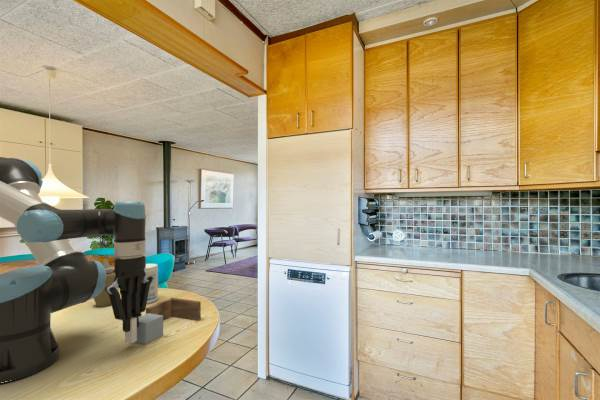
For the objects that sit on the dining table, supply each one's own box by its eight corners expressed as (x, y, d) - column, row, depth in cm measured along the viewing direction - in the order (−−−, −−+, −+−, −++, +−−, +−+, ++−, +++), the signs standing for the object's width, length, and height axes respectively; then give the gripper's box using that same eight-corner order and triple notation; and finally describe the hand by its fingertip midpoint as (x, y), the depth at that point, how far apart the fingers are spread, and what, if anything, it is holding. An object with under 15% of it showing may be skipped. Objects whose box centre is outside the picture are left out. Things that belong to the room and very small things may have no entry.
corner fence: (176, 332, 87) (176, 312, 87) (145, 326, 92) (145, 307, 92) (200, 318, 97) (200, 301, 97) (171, 314, 102) (171, 297, 102)
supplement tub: (136, 298, 120) (136, 264, 120) (160, 296, 122) (160, 262, 122) (128, 306, 110) (128, 268, 110) (154, 304, 112) (154, 267, 113)
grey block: (146, 344, 80) (146, 323, 80) (130, 341, 82) (130, 320, 82) (163, 335, 85) (163, 315, 85) (148, 332, 87) (148, 313, 87)
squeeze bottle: (122, 301, 116) (122, 257, 117) (107, 308, 108) (107, 261, 109) (104, 300, 117) (104, 257, 118) (87, 307, 109) (88, 261, 109)
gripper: (116, 261, 71) (117, 355, 71) (159, 253, 83) (160, 333, 83) (97, 260, 74) (97, 350, 73) (141, 252, 86) (142, 329, 85)
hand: (130, 341), depth 78 cm, fingers closed
